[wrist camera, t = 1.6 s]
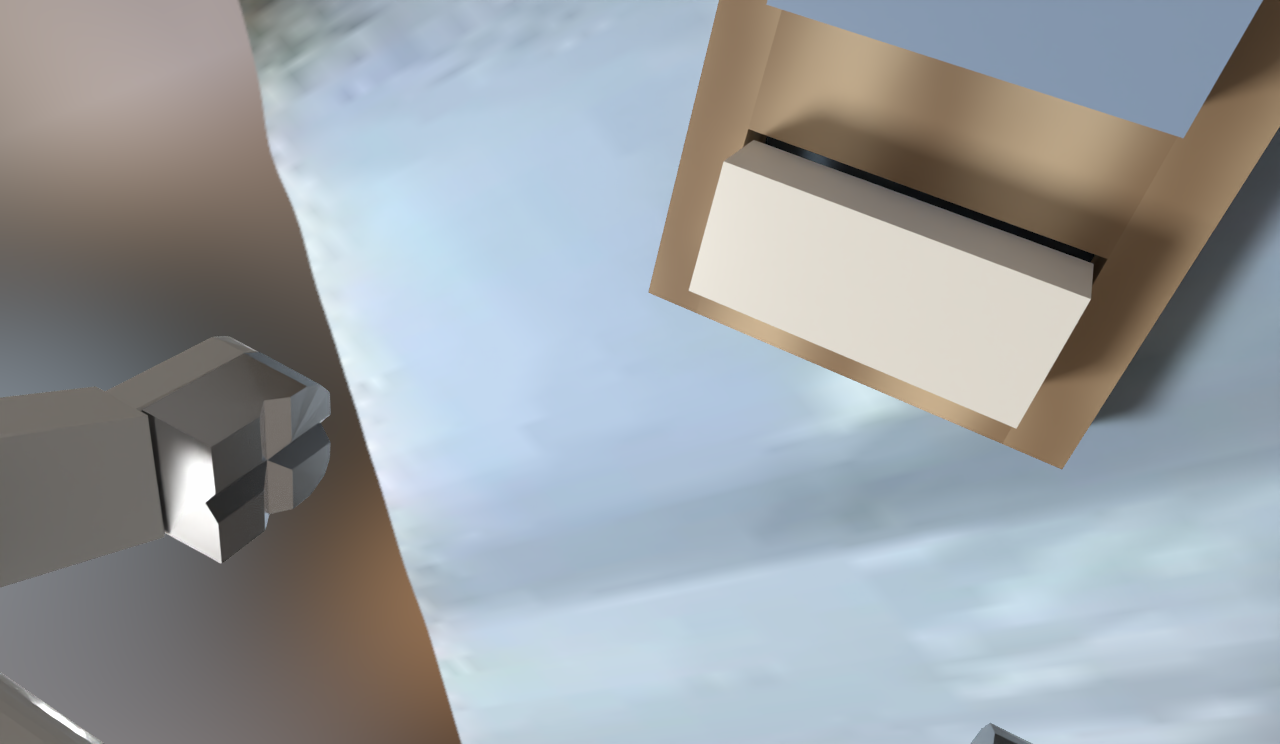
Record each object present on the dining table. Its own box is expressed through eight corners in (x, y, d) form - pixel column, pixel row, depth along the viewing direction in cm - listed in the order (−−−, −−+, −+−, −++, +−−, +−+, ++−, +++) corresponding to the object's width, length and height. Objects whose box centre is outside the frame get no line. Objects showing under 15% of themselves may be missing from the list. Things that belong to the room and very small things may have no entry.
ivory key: (1093, 263, 28) (1090, 299, 26) (1024, 386, 31) (1016, 428, 29) (753, 139, 32) (723, 161, 29) (718, 261, 34) (688, 290, 32)
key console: (1427, -157, 23) (1461, -160, 21) (1066, 428, 34) (1062, 469, 32) (821, -292, 28) (793, -307, 25) (677, 266, 39) (648, 292, 36)
